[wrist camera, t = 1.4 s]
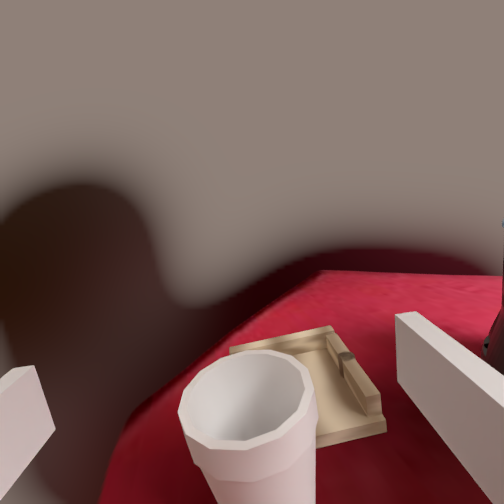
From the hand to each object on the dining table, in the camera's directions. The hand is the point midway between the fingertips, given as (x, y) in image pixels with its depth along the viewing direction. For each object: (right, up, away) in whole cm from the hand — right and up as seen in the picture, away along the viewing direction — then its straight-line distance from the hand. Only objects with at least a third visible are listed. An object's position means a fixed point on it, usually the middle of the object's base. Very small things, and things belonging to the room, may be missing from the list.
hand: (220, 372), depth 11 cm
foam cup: (+3, -18, +13) cm, 22 cm away
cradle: (+7, -13, +26) cm, 30 cm away
